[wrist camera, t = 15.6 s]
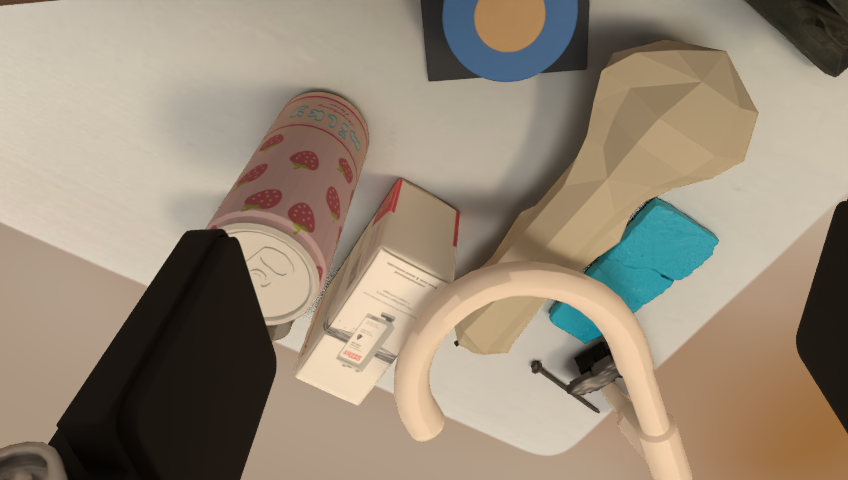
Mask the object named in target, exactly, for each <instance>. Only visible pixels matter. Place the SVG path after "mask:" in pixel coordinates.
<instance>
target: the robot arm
mask: <svg viewBox="0 0 848 480" xmlns="http://www.w3.org/2000/svg"><path fill="white" fill-rule="evenodd" d="M796 345H797V350H798V354H799V356H800V358H801V359H802V361H803V363H804V364H805V366H806V367H807V369H808V371H809V372H810V374H811V375H812V377H813V379H814V380H815V382H816V384H817V385H818V387H819V388H820V390H821V391H822V393H823V395H824V396H825V398H826V400H827V401H828V403H829V404H830V406H831V408H832V409H833V411H834V412H835V414H836V415H837V417H838V419H839V420H840V422H841V424H842V425H843V427H844V428H845V430H846V432H847V433H848V199H847V201H842V202H840V203H839V204H838V205H837V206H836V209H835V211H834V214H833V217H832V220H831V224H830V227H829V230H828V233H827V237H826V240H825V243H824V246H823V250H822V253H821V256H820V260H819V263H818V266H817V269H816V272H815V276H814V279H813V282H812V286H811V289H810V292H809V295H808V298H807V302H806V305H805V308H804V311H803V315H802V318H801V321H800V325H799V328H798V331H797V335H796ZM275 374H276V355H275V351H274V348H273V345H272V342H271V339H270V335H269V332H268V329H267V326H266V323H265V320H264V317H263V314H262V310H261V307H260V304H259V301H258V298H257V295H256V292H255V289H254V286H253V282H252V279H251V276H250V273H249V270H248V267H247V264H246V261H245V258H244V254H243V251H242V248H241V245H240V243H239V240H238V239H237V238H236V237H234V236H233V237H229V236H228V234H227V232H226V231H225V230H223V229H205V230H190V231H186V232H185V233H184V235H183V236H182V237H181V239H180V240H179V242H178V243H177V245H176V246H175V248H174V249H173V251H172V252H171V254H170V255H169V257H168V258H167V260H166V261H165V263H164V264H163V266H162V267H161V269H160V270H159V272H158V273H157V275H156V276H155V278H154V279H153V281H152V282H151V284H150V285H149V287H148V288H147V290H146V291H145V293H144V294H143V296H142V297H141V299H140V300H139V302H138V303H137V305H136V306H135V308H134V309H133V311H132V312H131V314H130V315H129V317H128V318H127V320H126V321H125V323H124V324H123V326H122V327H121V329H120V330H119V332H118V333H117V335H116V336H115V338H114V339H113V341H112V342H111V344H110V345H109V347H108V348H107V350H106V351H105V353H104V354H103V356H102V357H101V359H100V360H99V362H98V363H97V365H96V366H95V368H94V369H93V371H92V372H91V374H90V375H89V377H88V378H87V380H86V381H85V383H84V384H83V386H82V387H81V389H80V390H79V392H78V393H77V395H76V396H75V398H74V399H73V401H72V402H71V404H70V405H69V407H68V408H67V410H66V411H65V413H64V414H63V416H62V417H61V419H60V420H59V422H58V423H57V427H58V430H57V431H56V433H55V434H54V436H53V437H52V439H51V440H50V442H49V443H48V445H47V444H45V443H43V442H24V443H19V444H14V445H9V446H6V447H4V448H1V449H0V480H240V479H241V476H242V473H243V470H244V467H245V463H246V461H247V458H248V455H249V452H250V449H251V446H252V443H253V440H254V437H255V434H256V431H257V428H258V425H259V422H260V419H261V416H262V413H263V410H264V407H265V404H266V401H267V398H268V395H269V392H270V389H271V386H272V383H273V381H274V378H275Z"/></svg>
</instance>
